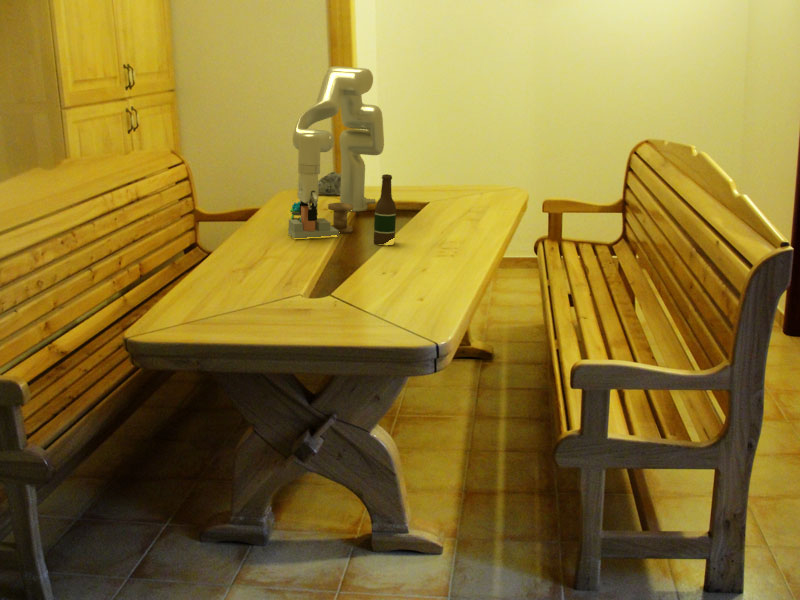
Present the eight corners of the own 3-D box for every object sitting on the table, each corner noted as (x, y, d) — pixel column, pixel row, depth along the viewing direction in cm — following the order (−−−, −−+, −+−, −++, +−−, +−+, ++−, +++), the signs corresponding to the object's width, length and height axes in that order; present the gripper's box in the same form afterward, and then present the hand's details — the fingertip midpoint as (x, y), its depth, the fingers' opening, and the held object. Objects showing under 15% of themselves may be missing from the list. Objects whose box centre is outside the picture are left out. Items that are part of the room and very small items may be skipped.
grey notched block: (331, 232, 352) (331, 217, 350) (338, 237, 345) (338, 222, 343) (288, 234, 346) (288, 219, 344) (294, 240, 339) (294, 224, 337)
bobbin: (347, 227, 361) (348, 202, 358) (355, 233, 353) (356, 207, 350) (324, 228, 357) (324, 203, 354) (332, 234, 349) (332, 208, 347)
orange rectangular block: (300, 228, 345) (301, 206, 342) (311, 227, 346) (312, 205, 344) (304, 231, 341) (304, 208, 339) (314, 230, 343) (315, 208, 340)
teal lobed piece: (322, 216, 369) (310, 200, 362) (317, 229, 367) (304, 213, 359) (299, 215, 375) (286, 200, 367) (293, 228, 372) (280, 213, 365)
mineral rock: (311, 195, 414) (311, 172, 411) (319, 191, 424) (320, 168, 421) (340, 198, 411) (340, 174, 408) (348, 193, 421) (348, 170, 418)
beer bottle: (398, 242, 342) (402, 174, 335) (389, 247, 335) (392, 177, 328) (379, 239, 345) (381, 172, 338) (369, 244, 338) (371, 175, 331)
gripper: (291, 165, 344) (290, 212, 349) (306, 173, 328) (305, 223, 333) (312, 164, 346) (311, 211, 351) (327, 173, 331) (326, 222, 336)
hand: (308, 217), depth 342 cm, fingers open, 9 cm apart
